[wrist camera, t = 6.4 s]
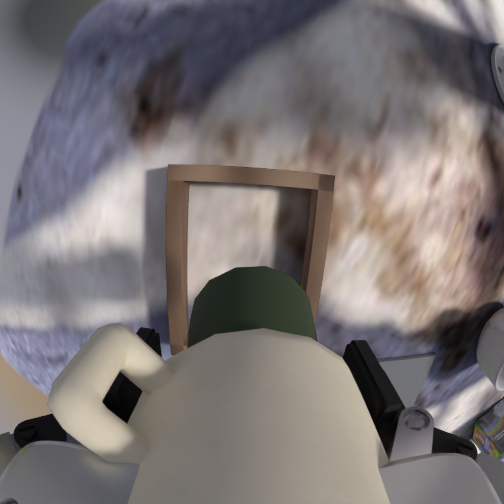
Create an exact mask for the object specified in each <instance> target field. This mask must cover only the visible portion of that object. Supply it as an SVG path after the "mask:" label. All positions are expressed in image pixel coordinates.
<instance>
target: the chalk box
mask: <svg viewBox="0 0 504 504" xmlns="http://www.w3.org/2000/svg"><path fill="white" fill-rule="evenodd" d="M472 440H473V441H474V443H475V444H476V445H477V447H478V448H479V450H480V451H481V452H483V453H485V454H487V455H490V456H492V457H494V458H496V459H499V460H501V461H503V462H504V398H503V399H502V400H501V401H500V402H498V403H497V404H496V405H495V406H494V407H493V408H491V409H490V410H489V411H488V412H486V413H485V414H484V415H483V416H481V417H480V418H479V419H477V420H476V422H475V427H474V433H473V438H472Z"/></svg>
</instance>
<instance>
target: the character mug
mask: <svg viewBox="0 0 504 504" xmlns="http://www.w3.org/2000/svg"><path fill="white" fill-rule="evenodd" d="M119 371H120V372H121V373H123V374H124V375H125V376H126V377H127V378H128V379H129V380H130V381H132V382H133V383H134V384H135V385H136V386H137V387H139V388H140V389H141V390H142V394H141V396H140V398H139V400H138V402H137V405H136V407H135V409H134V411H133V412H132V414H131V416H130V419H129V421H128V423H125V422H124V421H123V420H121V419H120V418H119V417H117V416H116V415H115V414H114V413H112V412H111V411H110V410H109V409H107V408H106V406H105V405H104V404H103V402H102V401H103V399H104V397H105V395H106V394H107V392H108V390H109V388H110V387H111V385H112V383H113V382H114V380H115V378H116V376H117V375H118V373H119ZM47 405H48V407H49V409H50V411H51V412H52V414H53V415H54V417H55V418H56V419H57V421H58V422H59V424H60V425H61V426H62V428H63V429H64V430H65V431H66V432H67V433H69V434H70V435H71V436H72V437H73V438H75V439H76V440H77V441H79V442H80V443H81V444H82V445H84V446H85V447H86V448H88V449H89V450H90V451H92V452H94V453H95V454H97V455H98V456H100V457H101V458H103V459H105V460H106V461H108V462H119V463H134V464H139V465H140V466H139V470H138V473H137V476H136V479H135V482H134V486H133V489H132V492H131V495H130V498H129V501H128V504H390V502H389V499H388V496H387V493H386V490H385V487H384V484H383V481H382V478H381V475H380V473H379V470H378V469H379V468H380V467H382V466H383V465H385V464H386V463H388V462H389V460H388V458H387V455H386V453H385V450H384V448H383V445H382V443H381V440H380V438H379V435H378V433H377V430H376V428H375V426H374V423H373V421H372V418H371V416H370V414H369V411H368V409H367V407H366V404H365V402H364V400H363V397H362V395H361V393H360V391H359V388H358V386H357V384H356V382H355V380H354V378H353V376H352V374H351V371H350V369H349V367H348V366H347V364H346V363H345V361H344V360H343V358H342V357H340V356H339V355H337V354H335V353H334V352H332V351H331V350H329V349H328V348H326V347H324V346H323V345H321V344H320V343H318V341H317V335H316V329H315V324H314V319H313V314H312V309H311V304H310V300H309V296H308V295H307V294H306V293H305V291H304V290H303V289H302V288H301V287H300V285H299V284H298V283H297V282H296V281H295V280H294V278H293V277H292V276H289V275H287V274H284V273H282V272H279V271H277V270H274V269H272V268H269V267H267V266H257V267H238V268H234V269H232V270H230V271H228V272H226V273H224V274H221V275H219V276H217V277H215V278H213V279H211V280H209V282H208V283H207V284H206V286H205V287H204V288H203V289H202V291H201V292H200V293H199V294H198V296H197V297H196V298H195V301H194V305H193V309H192V314H191V318H190V326H189V335H188V345H187V349H185V350H183V351H181V352H179V353H178V354H176V355H174V356H173V357H171V358H169V359H167V360H166V361H165V360H164V359H163V358H162V357H160V356H159V355H158V354H157V353H156V352H155V351H154V350H153V349H152V348H151V347H150V346H148V345H147V344H146V343H145V342H144V341H143V340H142V339H141V338H140V337H139V336H138V335H137V334H136V333H135V332H134V331H132V330H131V329H129V328H128V327H126V326H125V325H123V324H122V323H111V324H108V325H106V326H103V327H101V328H98V329H97V330H96V332H95V333H94V334H93V335H92V336H91V337H90V338H89V340H88V341H87V342H86V343H85V344H84V345H83V347H82V348H81V349H80V350H79V351H78V353H77V354H76V355H75V356H74V357H73V358H72V360H71V361H70V362H69V363H68V365H67V366H66V367H65V368H64V369H63V371H62V372H61V373H60V374H59V376H58V377H57V378H56V379H55V381H54V382H53V384H52V388H51V392H50V395H49V399H48V403H47Z"/></svg>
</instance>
